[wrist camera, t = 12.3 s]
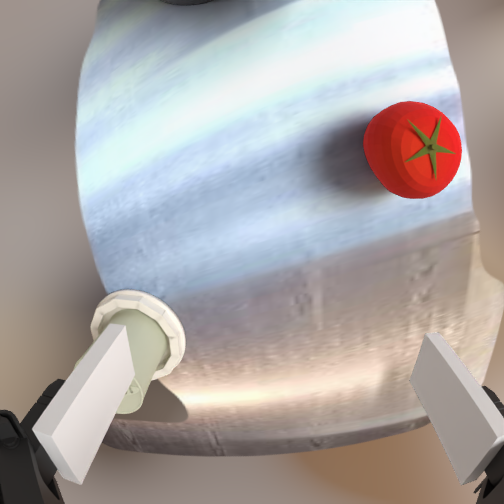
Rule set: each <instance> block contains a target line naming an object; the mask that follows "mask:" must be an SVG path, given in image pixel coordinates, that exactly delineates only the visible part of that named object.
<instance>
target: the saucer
mask: <svg viewBox="0 0 504 504" xmlns="http://www.w3.org/2000/svg"><path fill="white" fill-rule="evenodd" d="M124 309H137V310H140V311H141V312H143V313H145V314H146V315H148V316H150V317H151V318H153V319H155V320H156V321H157V322H158V323H159V325H160V326H161V327H162V329H163V330H164V332H165V334H166V337H167V349H166V352H165V354H164V355H163V357H162V358H161V360H160V362H159V364H158V366H157V368H156V371H155V373H154V375H153V377H152V380H154V379H157V378H160V377H163V376H166V375H168V374H170V373H171V371H172V370H173V369H174V368H175V367H176V366H177V365H178V364H179V362H180V361H181V359H182V357H183V354H184V351H185V347H186V336H185V331H184V328H183V326H182V323H181V321H180V320H179V318H178V316H177V315H176V314H175V312H174V311H173V310H172V309H171V308H170V307H169V306H168V305H167V304H166V303H164V302H163V301H162V300H160V299H159V298H157V297H155V296H154V295H152V294H149V293H147V292H144V291H140V290H135V289H123V290H118V291H115V292H113V293H110V294H109V295H107V296H106V297H105V298H104V299H103V300H102V301H101V302H100V303H99V305H98V306H97V308H96V310H95V313H94V317H93V320H92V323H91V325H90V328H91V332H92V337H93V341H95V339H96V338H97V337H98V336H99V334H100V333H101V332H102V331H103V329H104V328H105V327H106V325H107V324H108V323H109V321H110V319H111V317H112V316H113V315H114V314H115V313H117V312H118V311H120V310H124Z"/></svg>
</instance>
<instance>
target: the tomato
mask: <svg viewBox="0 0 504 504" xmlns="http://www.w3.org/2000/svg"><path fill="white" fill-rule="evenodd" d="M363 147H364V153H365V156H366V159H367V161H368V163H369V165H370V167H371V169H372V171H373V172H374V174H375V175H376V177H377V178H378V179H379V181H380V182H381V183H382V185H383V186H384V187H385V188H386V189H388V190H389V191H390V192H392V193H394V194H396V195H398V196H401V197H404V198H410V199H418V198H427V197H430V196H433V195H435V194H437V193H439V192H440V191H442V190H443V189H444V188H445V187H446V186H447V185H448V184H449V183H450V182H451V181H452V179H453V178H454V176H455V174H456V173H457V170H458V168H459V165H460V161H461V154H462V147H461V140H460V136H459V133H458V131H457V129H456V127H455V126H454V125H453V123H452V122H451V121H450V120H449V119H448V118H447V117H446V116H445V115H444V114H443V113H442V112H440V111H439V110H437V109H436V108H434V107H432V106H430V105H427V104H425V103H420V102H412V101H407V102H399V103H397V104H394V105H391V106H389V107H388V108H386V109H384V110H382V111H381V112H380V113H378V114H377V115H376V116H375V117H373V119H372V120H371V121H370V123H369V124H368V126H367V129H366V131H365V134H364V139H363Z"/></svg>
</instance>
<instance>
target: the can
mask: <svg viewBox="0 0 504 504" xmlns="http://www.w3.org/2000/svg"><path fill="white" fill-rule="evenodd" d="M110 323H111V324H119V325H126V331H127V336H128V342H129V347H130V352H131V357H132V362H133V367H134V371H135V376H134V378H133V380H132V382H131V384H130V386H129V388H128V390H127V392H126V393H125V395H124V397H123V399H122V401H121V403H120V405H119V407H118V409H117V411H116V413H118V414H128V413H132V412H134V411H136V410H137V409H139V408H140V406H141V405H142V402H143V399H144V396H145V394H146V391H147V389H148V386H149V384H150V382H151V380H152V377H153V375H154V373H155V371H156V368H157V366H158V364H159V362H160V360H161V358H162V357H163V355H164V354H165V352H166V349H167V337H166V334H165V332H164V330H163V329H162V327H161V326H160V325H159V323H158V322H157V321H156V320H155V319H153V318H151V317H150V316H148V315H146V314H145V313H143V312H141V311H140V310H137V309H124V310H120V311H118V312H117V313H115V314H114V315H113V316H112V317H111V319H110V321H109V323H108V324H107V325H106V327H105V328H104V329H103V331H102V332H101V333H100V334H99V336H98V337H97V338H96V339H95V341H94V342H93V343H92V344H91V346H90V347H89V348H88V349H87V351H86V352H85V353H84V354H83V356H82V357H81V358H80V359H79V360H78V361H77V362H76V364H75V366H74V369H75V368H76V367H77V365H78V364H79V363H80V361H81V360H82V359H83V357H84V356H85V355H86V354H87V352H88V351H89V350H90V348H91V347H92V346H93V344H94V343H95V342H96V341H97V339H98V338H99V337H100V335H101V334H102V333H103V332H104V330H105V329H106V328H107V327H108V325H109V324H110Z"/></svg>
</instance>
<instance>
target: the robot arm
mask: <svg viewBox="0 0 504 504" xmlns="http://www.w3.org/2000/svg"><path fill="white" fill-rule="evenodd" d="M161 1H163V2H166V3H170V4H176V5H194V4H201V3H206V2H209V1H213V0H161ZM134 376H135V371H134V367H133V362H132V357H131V352H130V347H129V342H128V336H127V331H126V325H119V324H111V323H110V324H109V325H108V327H107V328H106V329H105V330H104V332H103V333H102V334H101V335H100V337H99V338H98V339H97V341H96V342H95V343H94V344H93V346H92V347H91V348H90V350H89V351H88V352H87V354H86V355H85V356H84V357H83V359H82V360H81V361H80V363H79V364H78V365H77V367H76V368H75V369H74V371H73V372H72V373H71V375H70V376H69V377H68V379H67V380H61V379H58V380H56V381H55V382H53V383H52V384H50V385H49V386H48V387H47V388H46V390H45V391H44V392H43V394H42V396H40V398H39V399H38V400H37V403H35V404H34V405H33V407H32V408H31V409H30V411H29V412H28V414H27V415H26V416H25V418H24V419H23V420H22V422H21V423H19V421H18V419H17V418H16V416H15V415H14V414H13V413H12V412H11V411H8V410H0V504H65V503H64V501H63V498H62V496H61V492H60V490H59V487H58V484H57V481H56V479H55V478H54V475H55V473H56V471H57V470H58V471H59V473H60V474H61V476H62V477H63V478H64V479H67V480H70V481H72V482H75V483H78V484H82V482H83V480H84V478H85V476H86V474H87V471H88V469H89V467H90V465H91V463H92V461H93V459H94V456H95V455H96V452H97V450H98V448H99V446H100V444H101V442H102V440H103V438H104V436H105V434H106V432H107V430H108V428H109V426H110V423H111V421H112V419H113V417H114V415H115V413H116V411H117V409H118V407H119V405H120V403H121V401H122V399H123V397H124V395H125V393H126V392H127V390H128V388H129V386H130V384H131V382H132V380H133V378H134ZM409 381H410V383H411V385H412V386H413V388H414V390H415V392H416V394H417V396H418V398H419V400H420V401H421V403H422V405H423V407H424V409H425V411H426V413H427V415H428V417H429V419H430V421H431V423H432V425H433V427H434V429H435V431H436V433H437V435H438V437H439V439H440V441H441V443H442V445H443V447H444V449H445V451H446V454H447V456H448V458H449V460H450V462H451V464H452V466H453V469H454V471H455V473H456V475H457V478H458V480H459V482H460V484H461V485H464V484H467V483H469V482H472V481H474V480H477V478H478V477H479V476H480V475H481V474H482V473H483V471H485V473H486V475H487V476H486V478H485V479H484V480H483V481H482V482H481V484H480V485H479V486H478V487H477V488H476V489H475V491H474V493H476V492H477V491H478V490H479V489H480V488H481V490H480V493H479V496H478V499H477V502H476V504H504V405H503V404H502V403H501V402H500V400H499V398H498V397H497V396H496V394H495V393H494V392H493V391H492V390H490V389H488V388H487V387H486V386H482V387H481V385H480V384H479V383H478V381H477V380H476V379H475V377H474V376H473V375H472V373H471V372H470V371H469V370H468V368H467V367H466V366H465V364H464V363H463V362H462V361H461V359H460V358H459V357H458V355H457V354H456V353H455V352H454V350H453V349H452V348H451V347H450V345H449V344H448V343H447V342H446V340H445V339H444V338H443V337H442V336H441V334H440V333H439V332H436V333H425V336H424V339H423V342H422V346H421V349H420V352H419V355H418V358H417V361H416V364H415V366H414V369H413V372H412V375H411V378H410V380H409Z"/></svg>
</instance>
